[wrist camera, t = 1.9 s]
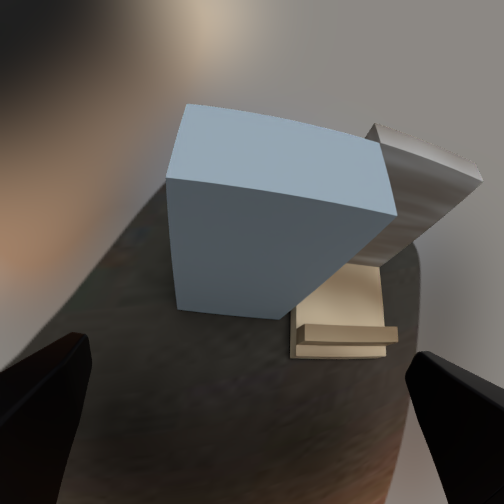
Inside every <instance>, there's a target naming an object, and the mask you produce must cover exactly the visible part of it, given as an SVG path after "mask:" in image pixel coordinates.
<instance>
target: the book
mask: <svg viewBox="0 0 504 504" xmlns="http://www.w3.org/2000/svg"><path fill="white" fill-rule="evenodd" d="M166 190H167V206H168V221H169V233H170V245H171V256H172V266H173V275H174V284H175V293H176V301H177V309H178V310H186V311H194V312H203V313H212V314H221V315H231V316H242V317H253V318H264V319H277V320H280V319H281V318H282V317H283V316H284V315H286V314H287V313H288V312H289V311H291V310H292V309H293V308H294V307H295V306H297V305H298V304H299V303H300V302H301V301H303V300H304V299H305V298H306V297H307V296H309V295H310V294H311V293H312V292H313V291H315V290H316V289H317V288H318V287H319V286H320V285H322V284H323V283H324V282H325V281H326V280H327V279H329V278H330V277H331V276H332V275H333V274H334V273H336V272H337V271H338V270H339V269H340V268H341V267H342V266H344V265H345V264H346V263H347V262H348V261H349V260H350V259H351V258H353V257H354V256H355V255H356V254H357V253H358V252H359V251H360V250H361V249H363V248H364V247H365V246H366V245H367V244H368V243H369V242H370V241H371V240H372V239H373V238H375V237H376V236H377V235H378V234H379V233H380V232H381V231H382V230H383V229H384V228H385V227H386V226H387V225H388V224H390V223H391V222H392V221H393V220H394V219H395V218H396V217H397V211H396V206H395V202H394V198H393V193H392V189H391V185H390V181H389V177H388V173H387V169H386V166H385V162H384V158H383V155H382V151H381V148H380V144H379V143H378V142H374V141H371V140H368V139H364V138H361V137H357V136H354V135H350V134H347V133H343V132H339V131H335V130H331V129H328V128H323V127H319V126H315V125H311V124H307V123H302V122H297V121H293V120H288V119H283V118H278V117H273V116H268V115H262V114H257V113H251V112H245V111H239V110H232V109H226V108H219V107H211V106H203V105H194V104H187V105H186V108H185V111H184V114H183V118H182V121H181V124H180V128H179V131H178V135H177V138H176V141H175V145H174V149H173V152H172V156H171V160H170V163H169V167H168V171H167V175H166Z"/></svg>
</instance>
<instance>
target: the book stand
mask: <svg viewBox="0 0 504 504" xmlns="http://www.w3.org/2000/svg"><path fill="white" fill-rule="evenodd" d="M365 139H368V140H371V141H374V142H378V143H379V144H380V148H381V151H382V155H383V158H384V162H385V166H386V169H387V173H388V177H389V181H390V185H391V189H392V193H393V198H394V202H395V206H396V211H397V217H396V218H395V219H394V220H393V221H392V222H391V223H390V224H388V225H387V226H386V227H385V228H384V229H383V230H382V231H381V232H380V233H379V234H378V235H377V236H376V237H375V238H373V239H372V240H371V241H370V242H369V243H368V244H367V245H366V246H365V247H364V248H363V249H361V250H360V251H359V252H358V253H357V254H356V255H355V256H354V257H353V258H351V259H350V260H349V261H348V262H347V263H346V264H345V265H344V266H342V267H341V268H340V269H339V270H338V271H337V272H336V273H334V274H333V275H332V276H331V277H330V278H329V279H327V280H326V281H325V282H324V283H323V284H322V285H320V286H319V287H318V288H317V289H316V290H315V291H313V292H312V293H311V294H310V295H309V296H307V297H306V298H305V299H304V300H303V301H301V302H300V303H299V304H298V305H297V306H295V307H294V308H293V309H292V310H291V326H290V358H300V359H371V358H380V357H384V356H386V346H387V345H390V344H393V343H396V342H398V331H397V327H384V313H383V301H382V290H381V281H380V272H379V267H380V266H381V265H383V264H384V263H385V262H387V261H388V260H389V259H391V258H392V257H393V256H395V255H396V254H397V253H399V252H400V251H401V250H403V249H404V248H405V247H406V246H408V245H409V244H410V243H412V242H413V241H414V240H415V239H416V238H418V237H419V236H420V235H422V234H423V233H424V232H425V231H426V230H428V229H429V228H430V227H431V226H433V225H434V224H435V223H436V222H437V221H439V220H440V219H441V218H442V217H444V216H445V215H446V214H447V213H448V212H450V211H451V210H452V209H453V208H454V207H455V206H456V205H458V204H459V203H460V202H461V201H462V200H464V199H465V198H466V197H467V196H468V195H469V194H470V193H471V192H473V191H474V190H475V189H476V188H477V187H478V186H479V185H480V184H481V183H483V179H482V177H481V175H480V172H479V170H478V167H477V166H476V163H474V162H472V161H470V160H468V159H466V158H463V157H461V156H459V155H457V154H455V153H452V152H450V151H447V150H445V149H443V148H441V147H438V146H436V145H433V144H431V143H428V142H426V141H423V140H421V139H418V138H416V137H413V136H411V135H408V134H405V133H402V132H400V131H397V130H394V129H391V128H388V127H385V126H382V125H379V124H376V123H374V125H373V126H372V128H371V129H370V131H369V133H368V134H367V136H366V137H365Z"/></svg>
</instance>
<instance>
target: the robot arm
mask: <svg viewBox="0 0 504 504" xmlns="http://www.w3.org/2000/svg"><path fill="white" fill-rule="evenodd" d="M91 369H92V357H91V351H90V345H89V339H88V336H87V335H86V334H83V333H77V332H71V333H69V334H67V335H65V336H63V337H61V338H60V339H58V340H56V341H54V342H53V343H51V344H49V345H47V346H46V347H44V348H42V349H40V350H39V351H37V352H35V353H33V354H32V355H30V356H28V357H26V358H25V359H23V360H21V361H19V362H18V363H16V364H14V365H12V366H11V367H9V368H7V369H5V370H4V371H2V372H0V504H56V502H57V498H58V494H59V490H60V486H61V482H62V478H63V475H64V471H65V467H66V464H67V460H68V457H69V454H70V450H71V447H72V444H73V440H74V437H75V434H76V431H77V428H78V425H79V421H80V418H81V413H82V409H83V404H84V399H85V395H86V390H87V386H88V382H89V377H90V373H91ZM405 381H406V384H407V387H408V390H409V393H410V397H411V400H412V403H413V406H414V410H415V413H416V416H417V419H418V422H419V425H420V427H421V430H422V432H423V435H424V437H425V440H426V442H427V445H428V447H429V450H430V453H431V455H432V458H433V461H434V463H435V466H436V469H437V472H438V474H439V477H440V480H441V483H442V486H443V489H444V492H445V495H446V498H447V501H448V504H504V389H503V388H501V387H498V386H496V385H495V384H493V383H491V382H489V381H487V380H485V379H483V378H481V377H479V376H477V375H475V374H473V373H471V372H469V371H467V370H465V369H463V368H461V367H459V366H457V365H455V364H453V363H451V362H449V361H447V360H445V359H443V358H441V357H439V356H437V355H435V354H433V353H431V352H429V351H422V352H417V353H416V354H415V356H414V357H413V360H412V362H411V364H410V366H409V368H408V370H407V371H406V374H405Z"/></svg>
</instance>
